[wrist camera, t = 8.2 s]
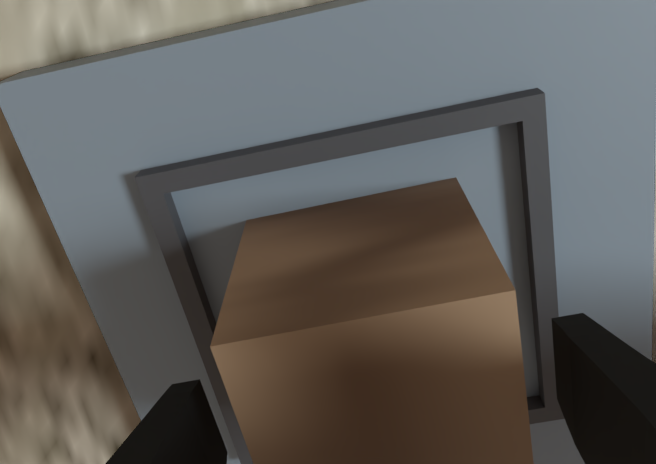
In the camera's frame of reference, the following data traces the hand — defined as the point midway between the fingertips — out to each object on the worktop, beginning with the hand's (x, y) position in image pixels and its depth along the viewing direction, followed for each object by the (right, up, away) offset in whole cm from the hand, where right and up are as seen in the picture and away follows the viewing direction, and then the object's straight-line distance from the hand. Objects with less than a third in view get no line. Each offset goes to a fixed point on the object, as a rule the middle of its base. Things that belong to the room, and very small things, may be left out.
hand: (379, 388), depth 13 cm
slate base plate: (0, +2, +4) cm, 5 cm away
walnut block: (0, +2, +3) cm, 3 cm away
